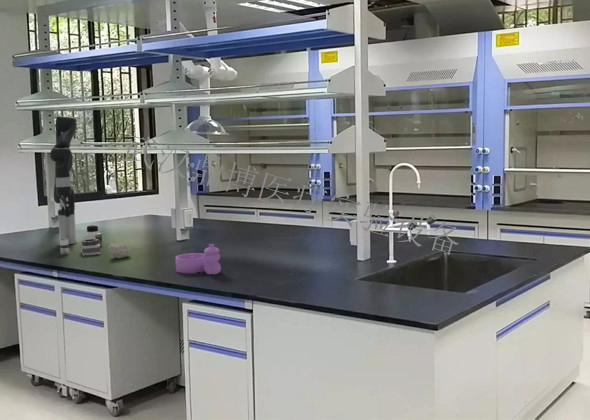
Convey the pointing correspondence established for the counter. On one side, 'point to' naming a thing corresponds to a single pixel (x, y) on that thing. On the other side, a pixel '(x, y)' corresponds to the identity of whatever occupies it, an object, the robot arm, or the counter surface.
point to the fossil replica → (118, 250)
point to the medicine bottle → (93, 234)
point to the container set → (199, 261)
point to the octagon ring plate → (90, 247)
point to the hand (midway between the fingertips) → (65, 216)
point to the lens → (64, 246)
